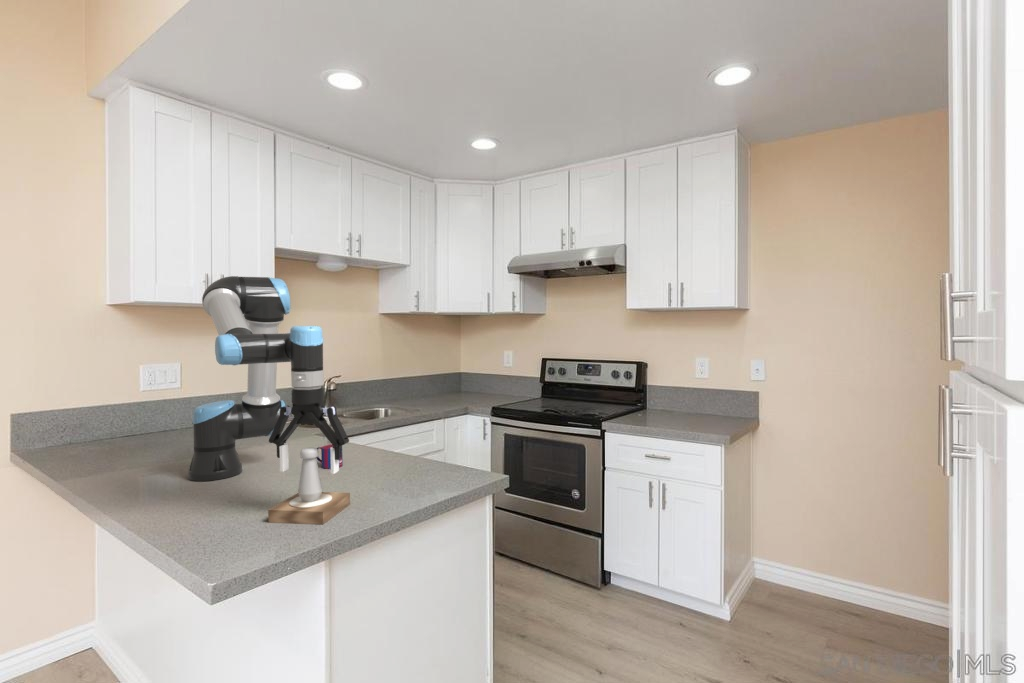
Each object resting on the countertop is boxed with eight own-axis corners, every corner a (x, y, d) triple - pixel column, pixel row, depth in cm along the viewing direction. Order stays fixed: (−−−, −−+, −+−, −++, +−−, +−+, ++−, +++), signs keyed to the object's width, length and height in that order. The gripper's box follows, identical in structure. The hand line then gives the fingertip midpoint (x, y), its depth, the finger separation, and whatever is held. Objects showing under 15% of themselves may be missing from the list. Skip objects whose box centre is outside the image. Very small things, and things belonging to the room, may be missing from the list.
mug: (332, 470, 169) (331, 449, 169) (310, 466, 173) (309, 446, 173) (346, 465, 175) (346, 445, 175) (325, 462, 179) (324, 442, 179)
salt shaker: (327, 498, 129) (326, 447, 129) (306, 505, 125) (304, 452, 124) (315, 494, 133) (313, 444, 133) (293, 500, 128) (292, 449, 128)
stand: (268, 522, 123) (268, 508, 123) (300, 502, 137) (300, 490, 137) (323, 524, 121) (322, 510, 121) (350, 504, 135) (349, 491, 135)
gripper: (252, 388, 126) (254, 474, 127) (347, 390, 123) (349, 477, 123) (270, 385, 134) (272, 465, 134) (361, 386, 130) (362, 468, 131)
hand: (309, 471), depth 129 cm, fingers open, 13 cm apart
